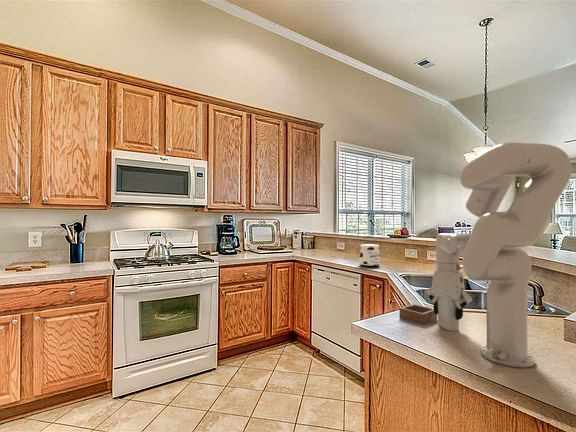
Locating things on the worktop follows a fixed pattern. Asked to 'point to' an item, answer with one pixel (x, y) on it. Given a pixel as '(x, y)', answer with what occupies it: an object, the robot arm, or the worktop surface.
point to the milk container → (369, 255)
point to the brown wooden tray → (418, 314)
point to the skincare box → (447, 313)
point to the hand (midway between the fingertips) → (447, 316)
